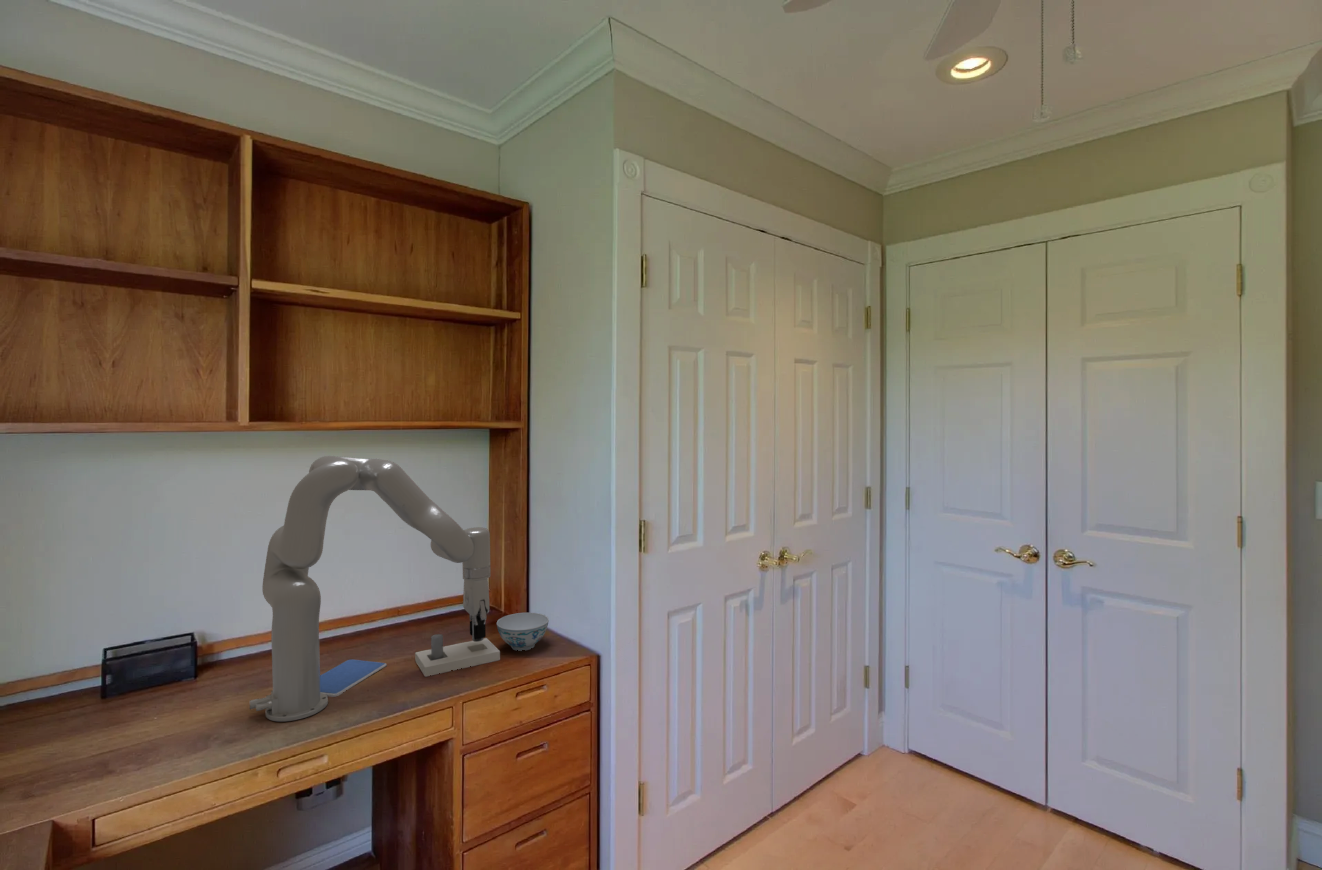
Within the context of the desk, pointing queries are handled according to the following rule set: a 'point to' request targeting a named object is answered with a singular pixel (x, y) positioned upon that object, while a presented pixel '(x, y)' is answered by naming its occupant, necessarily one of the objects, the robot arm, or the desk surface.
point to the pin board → (455, 655)
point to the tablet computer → (347, 676)
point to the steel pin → (473, 630)
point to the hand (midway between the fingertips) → (477, 635)
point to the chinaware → (522, 629)
